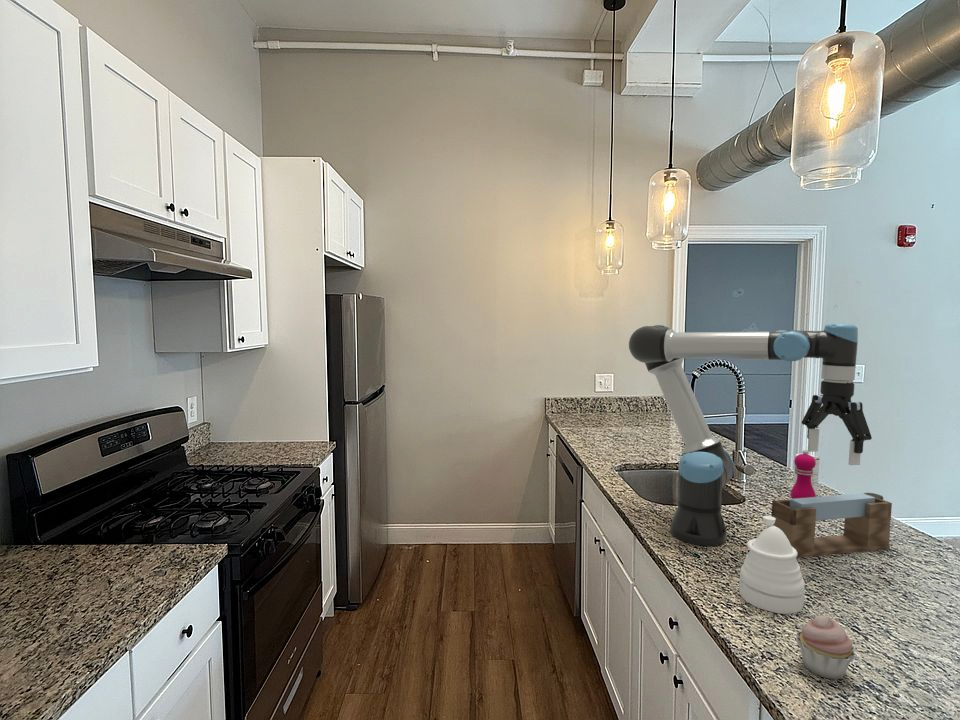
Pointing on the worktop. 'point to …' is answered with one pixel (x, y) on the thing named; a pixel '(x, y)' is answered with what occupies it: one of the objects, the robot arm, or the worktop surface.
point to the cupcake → (825, 647)
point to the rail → (835, 505)
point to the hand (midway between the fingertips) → (832, 457)
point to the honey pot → (772, 572)
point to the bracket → (856, 538)
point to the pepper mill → (803, 476)
